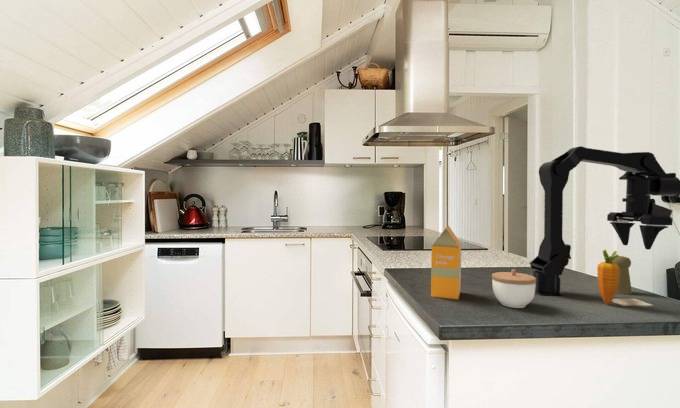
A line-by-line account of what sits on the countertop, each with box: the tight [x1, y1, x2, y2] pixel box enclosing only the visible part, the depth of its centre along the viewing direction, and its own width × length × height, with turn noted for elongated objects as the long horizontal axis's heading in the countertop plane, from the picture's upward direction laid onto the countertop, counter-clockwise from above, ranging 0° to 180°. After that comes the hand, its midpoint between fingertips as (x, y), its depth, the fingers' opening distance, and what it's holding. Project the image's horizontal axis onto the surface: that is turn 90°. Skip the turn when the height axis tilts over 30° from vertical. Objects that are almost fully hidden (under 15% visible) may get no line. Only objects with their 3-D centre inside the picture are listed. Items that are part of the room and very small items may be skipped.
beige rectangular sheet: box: [611, 298, 654, 307], centre depth 101 cm, size 8×6×1 cm
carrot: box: [596, 248, 620, 305], centre depth 99 cm, size 5×5×15 cm
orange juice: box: [430, 225, 462, 300], centre depth 108 cm, size 8×9×20 cm
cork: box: [612, 255, 633, 296], centre depth 113 cm, size 6×6×11 cm
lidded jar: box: [491, 269, 536, 309], centre depth 98 cm, size 11×11×9 cm
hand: (636, 247), depth 110 cm, fingers open, 9 cm apart
